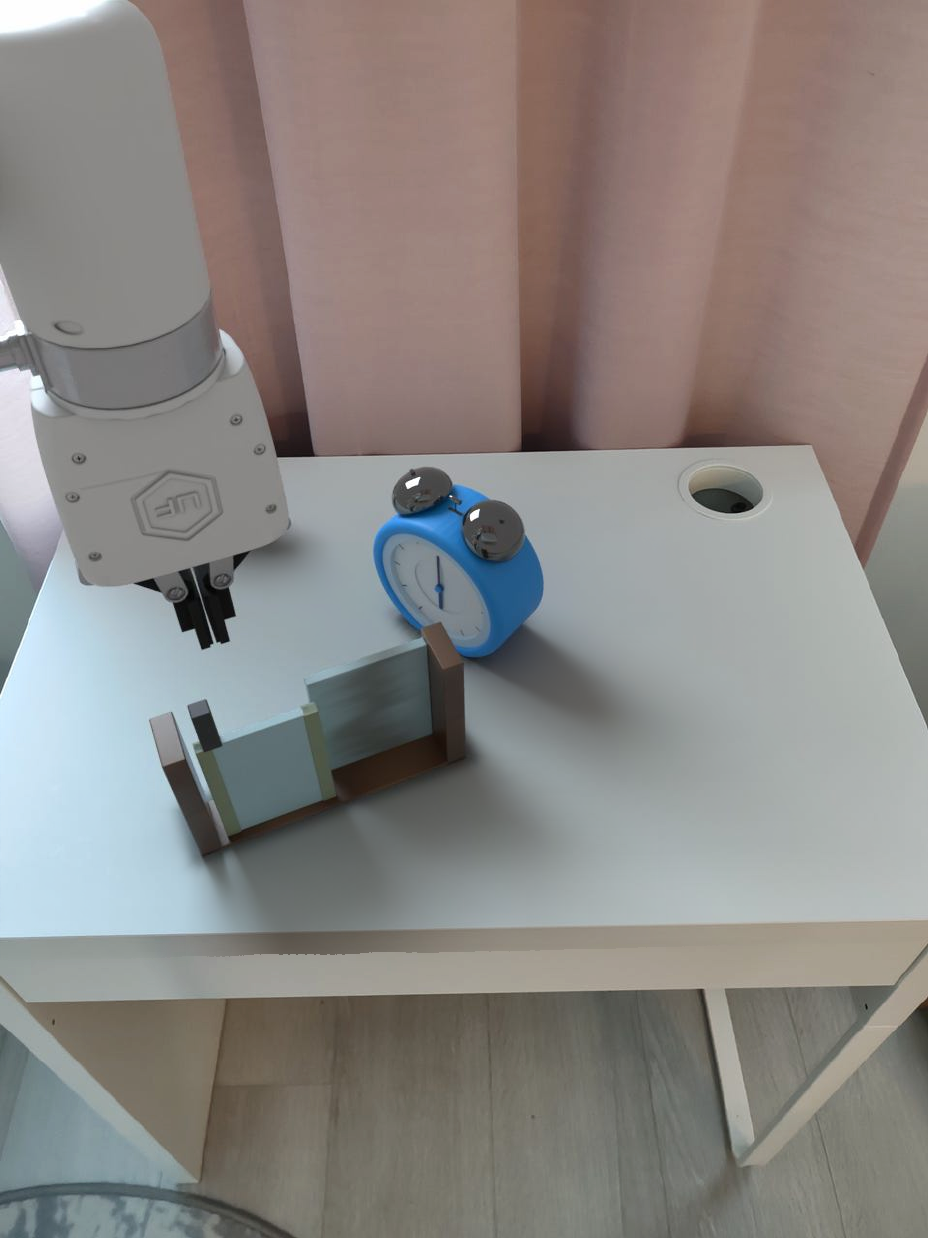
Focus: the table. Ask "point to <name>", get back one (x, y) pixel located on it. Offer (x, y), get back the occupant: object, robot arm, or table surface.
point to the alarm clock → (457, 562)
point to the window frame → (350, 732)
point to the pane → (263, 765)
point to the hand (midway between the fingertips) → (209, 627)
